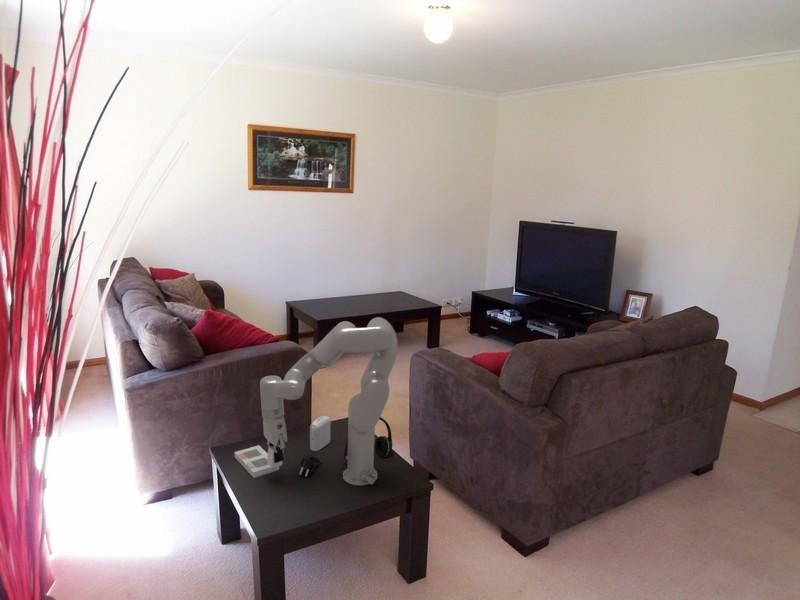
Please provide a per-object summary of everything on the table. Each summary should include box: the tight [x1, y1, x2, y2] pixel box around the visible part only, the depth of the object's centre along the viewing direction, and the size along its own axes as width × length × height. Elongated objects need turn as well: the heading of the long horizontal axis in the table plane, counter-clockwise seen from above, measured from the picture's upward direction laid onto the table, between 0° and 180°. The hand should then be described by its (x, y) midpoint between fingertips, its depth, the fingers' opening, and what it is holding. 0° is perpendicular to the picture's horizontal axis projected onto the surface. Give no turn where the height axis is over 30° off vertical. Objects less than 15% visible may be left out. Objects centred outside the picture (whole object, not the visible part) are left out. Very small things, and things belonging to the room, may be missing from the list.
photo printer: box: [309, 415, 331, 452], centre depth 219 cm, size 10×4×12 cm, turn 152°
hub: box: [234, 444, 280, 479], centre depth 205 cm, size 18×10×3 cm, turn 38°
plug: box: [267, 445, 285, 467], centre depth 192 cm, size 4×4×7 cm
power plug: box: [297, 454, 323, 477], centre depth 201 cm, size 6×8×12 cm
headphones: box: [343, 416, 393, 464], centre depth 209 cm, size 20×7×18 cm, turn 126°
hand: (276, 458), depth 193 cm, fingers closed on plug, 3 cm apart
